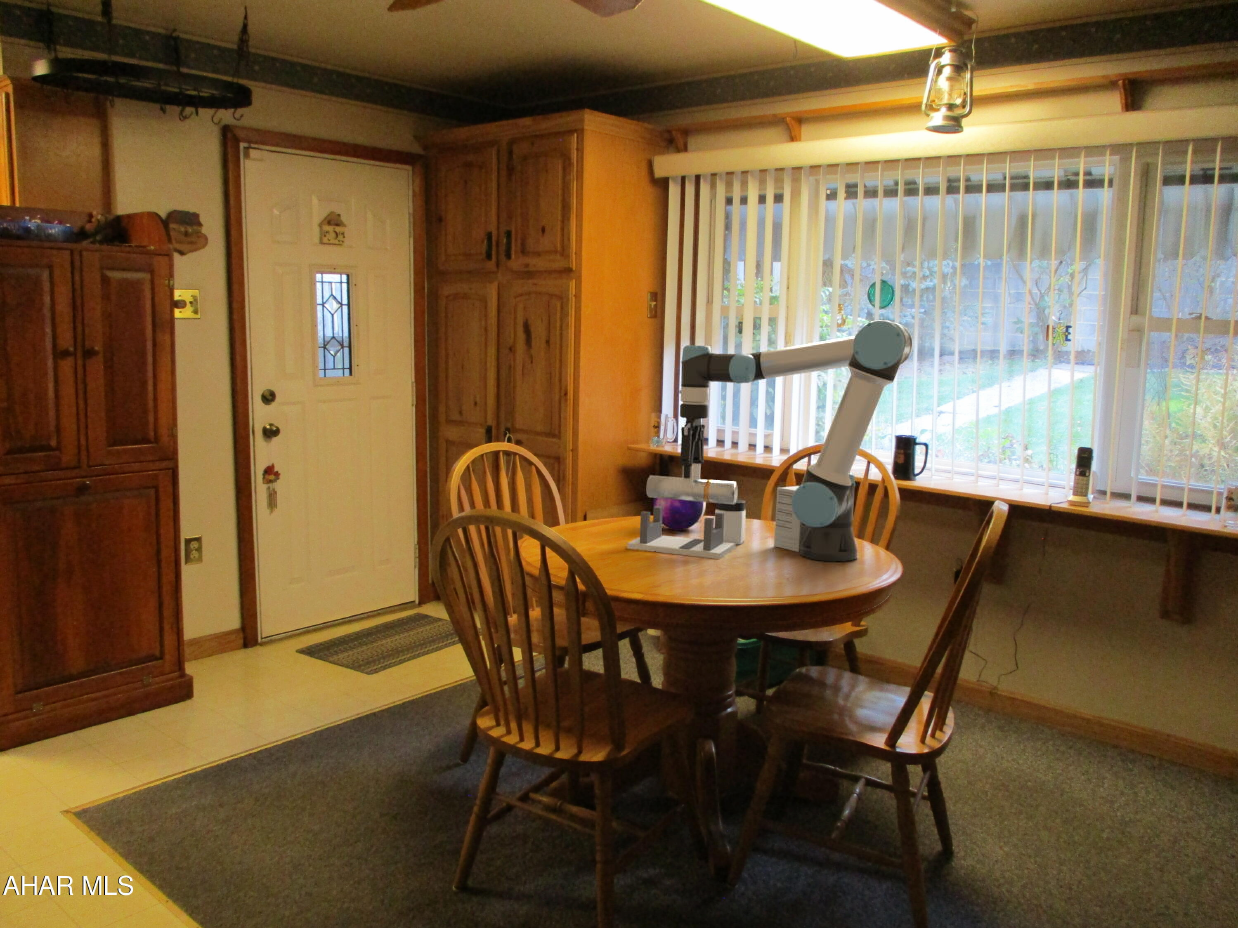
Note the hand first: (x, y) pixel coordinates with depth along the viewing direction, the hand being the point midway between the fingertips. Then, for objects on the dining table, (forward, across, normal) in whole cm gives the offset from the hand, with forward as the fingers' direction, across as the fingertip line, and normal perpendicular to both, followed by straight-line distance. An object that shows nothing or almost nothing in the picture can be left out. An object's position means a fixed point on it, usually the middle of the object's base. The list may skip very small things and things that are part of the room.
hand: (690, 488), depth 260 cm
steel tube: (0, 0, 0) cm, 0 cm away
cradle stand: (+17, 0, -2) cm, 17 cm away
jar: (+17, -16, +7) cm, 25 cm away
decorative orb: (+17, -26, -12) cm, 34 cm away
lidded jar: (+17, -43, -14) cm, 49 cm away
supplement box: (+17, -18, +26) cm, 36 cm away
